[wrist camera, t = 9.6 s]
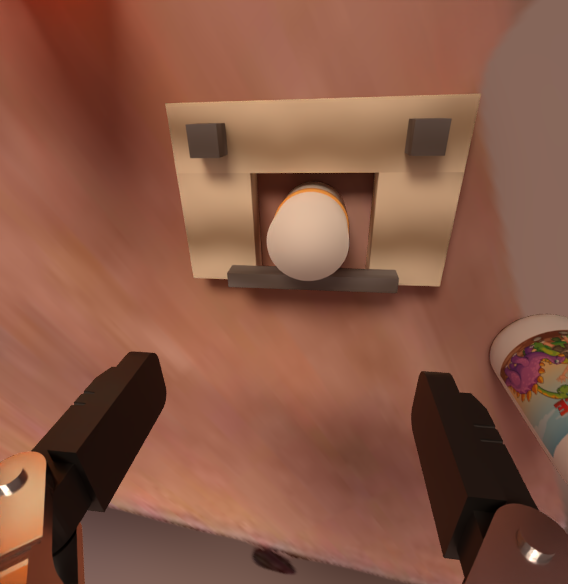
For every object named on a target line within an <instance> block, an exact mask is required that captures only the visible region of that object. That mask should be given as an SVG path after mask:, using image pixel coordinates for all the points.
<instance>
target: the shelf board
mask: <svg viewBox="0 0 568 584" xmlns="http://www.w3.org/2000/svg"><path fill="white" fill-rule="evenodd" d="M480 96H481V94H454V95H422V96H389V97H357V98H325V99H292V100H260V101H228V102H195V103H165V105H166V111H167V117H168V123H169V129H170V136H171V142H172V148H173V154H174V160H175V166H176V172H177V178H178V185H179V191H180V197H181V203H182V209H183V215H184V221H185V227H186V234H187V240H188V246H189V252H190V258H191V264H192V270H193V276H194V278H211V279H228V287H245V288H272V289H299V290H325V291H352V292H379V293H397V290H398V285H413V286H440V283H441V278H442V273H443V269H444V264H445V259H446V255H447V250H448V245H449V241H450V236H451V231H452V227H453V222H454V217H455V213H456V208H457V203H458V199H459V194H460V189H461V185H462V180H463V175H464V171H465V166H466V161H467V157H468V152H469V147H470V143H471V138H472V133H473V129H474V124H475V119H476V115H477V110H478V105H479V101H480ZM257 173H375V175H374V185H373V196H372V206H371V216H370V227H369V237H368V247H367V258H366V268H365V269H350V268H338V269H337V270H336V271H335V272H334V273H333V274H331V275H329V276H328V277H325V278H323V279H320V280H315V281H302V280H297V279H294V278H292V277H289V276H287V275H286V274H284V273H283V272H282V271H280V270H279V269H278V268H277V267H276V266H262V253H261V236H260V219H259V201H258V184H257Z"/></svg>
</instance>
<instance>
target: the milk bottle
mask: <svg viewBox="0 0 568 584" xmlns="http://www.w3.org/2000/svg"><path fill="white" fill-rule="evenodd" d="M490 363H491V366H492V368H493V370H494V371H495V373H496V375H497V377H498V378H499V380H500V381H501V383H502V385H503V386H504V388H505V390H506V391H507V393H508V394H509V396H510V398H511V399H512V401H513V402H514V404H515V406H516V407H517V409H518V410H519V412H520V414H521V415H522V417H523V418H524V420H525V422H526V423H527V425H528V426H529V428H530V430H531V431H532V433H533V434H534V436H535V437H536V439H537V441H538V442H539V444H540V445H541V447H542V448H543V450H544V452H545V453H546V455H547V456H548V458H549V459H550V461H551V462H552V464H553V465H554V467H555V468H556V470H557V471H558V472H559V474H560V475H561V477H562V478H563V480H564V481H565V482H566V484H567V485H568V318H567V317H563V316H559V315H552V314H538V315H532V316H528V317H525V318H522V319H519V320H517V321H515V322H513V323H511V324H510V325H508V326H507V327H505V328H504V329H503V330H502V331H501V332H500V333H499V334H498V335H497V337H496V338H495V339H494V341H493V344H492V346H491V350H490Z"/></svg>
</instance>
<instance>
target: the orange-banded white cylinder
mask: <svg viewBox="0 0 568 584" xmlns="http://www.w3.org/2000/svg"><path fill="white" fill-rule="evenodd" d="M348 233H349V221H348V215H347V212H346V208H345V204H344V201H343V199H342V197H341V195H340V194H339V193H338V192H337V191H336V190H335V189H334V188H333V187H331V186H330V185H328V184H325V183H322V182H315V181H313V182H306V183H303V184H300V185H298V186H297V187H295V188H294V189H293V190H292V191H290V193H289V194H288V195H287V197H286V198H285V199H284V201H283V202H282V203H281V204H280V206H279V208H278V209H277V211H276V214H275V217H274V219H273V221H272V223H271V225H270V227H269V230H268V233H267V249H268V253H269V255H270V258H271V259H272V261H273V263H274V264H275V265H276V267H277V268H278V269H279V270H280V271H282V272H283V273H284V274H286V275H287V276H289V277H292V278H294V279H297V280H302V281H315V280H320V279H323V278H325V277H328V276H329V275H331V274H333V273H334V272H335V271H336V270H337V269H338V268H339V267H340V266H341V265H342V264H343V262H344V260H345V258H346V256H347V253H348V250H349V234H348Z"/></svg>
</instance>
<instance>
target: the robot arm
mask: <svg viewBox="0 0 568 584" xmlns="http://www.w3.org/2000/svg"><path fill="white" fill-rule="evenodd" d="M165 401H166V386H165V382H164V378H163V374H162V370H161V366H160V362H159V359H158V356H157V355H156V354H155V353H147V352H129V353H128V354H127V355H126V356H125V357H124V358H123V359H122V361H121V362H120V363H119V364H118V365H117V367H111V368H109V369H108V370H107V371H105V372H104V373H102V374H101V375H99V376H98V377H96V378H95V379H94V380H93V382H92V383H91V384H90V385H89V386H88V387H87V388H86V389H85V391H84V394H81V395H80V396H79V397H78V399H77V400H76V401H75V402H74V405H71V406H70V408H69V409H68V410H67V411H66V412H65V413H64V414H63V416H62V417H61V418H60V419H59V420H58V421H57V422H56V424H55V425H54V426H53V427H52V428H51V429H50V430H49V431H48V433H47V434H46V435H45V436H44V437H43V438H42V439H41V441H40V442H39V443H38V444H37V445H36V446H35V447H34V448H33V449H32V450H31V451H30V452H22V453H18V454H15V455H13V456H10V457H8V458H6V459H4V460H2V461H1V462H0V584H85V581H84V558H83V536H82V525H81V523H80V521H81V520H82V518H83V517H84V515H85V513H86V512H87V510H91V511H98V512H105V510H106V508H107V506H108V505H109V503H110V501H111V499H112V498H113V496H114V494H115V492H116V491H117V489H118V487H119V485H120V483H121V482H122V480H123V478H124V476H125V475H126V473H127V471H128V469H129V468H130V466H131V464H132V462H133V461H134V459H135V457H136V455H137V454H138V452H139V450H140V448H141V446H142V445H143V443H144V441H145V439H146V438H147V436H148V434H149V432H150V431H151V429H152V427H153V425H154V424H155V422H156V420H157V418H158V416H159V415H160V413H161V411H162V409H163V407H164V405H165ZM411 422H412V430H413V435H414V439H415V443H416V447H417V451H418V455H419V459H420V463H421V467H422V471H423V476H424V480H425V484H426V488H427V492H428V496H429V500H430V504H431V508H432V512H433V516H434V520H435V524H436V528H437V532H438V537H439V541H440V545H441V549H442V553H443V557H444V558H449V559H457V560H460V563H461V566H462V570H463V574H464V577H465V578H464V580H463V582H462V584H568V534H567V533H566V531H565V530H564V529H563V528H562V527H561V526H560V525H559V524H558V523H556V522H555V521H554V520H553V519H551V518H550V517H549V516H547V515H546V514H544V513H542V512H540V511H539V510H538V508H537V506H536V505H535V503H534V501H533V499H532V497H531V495H530V493H529V491H528V489H527V487H526V485H525V483H524V481H523V479H522V477H521V475H520V474H519V472H518V470H517V468H516V466H515V464H514V462H513V460H512V458H511V456H510V454H509V452H508V450H507V448H506V446H505V444H503V440H502V438H501V436H500V434H499V432H498V430H497V429H495V424H494V423H493V421H492V419H491V417H490V415H489V413H488V411H487V409H486V408H485V407H484V406H483V405H482V404H481V403H480V402H479V401H478V400H477V399H476V398H475V397H474V396H473V395H472V394H471V393H459V390H458V388H457V386H456V384H455V381H454V379H453V377H452V375H451V374H450V373H441V372H426V371H422V372H421V373H420V375H419V379H418V383H417V388H416V392H415V397H414V402H413V406H412V413H411Z"/></svg>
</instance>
